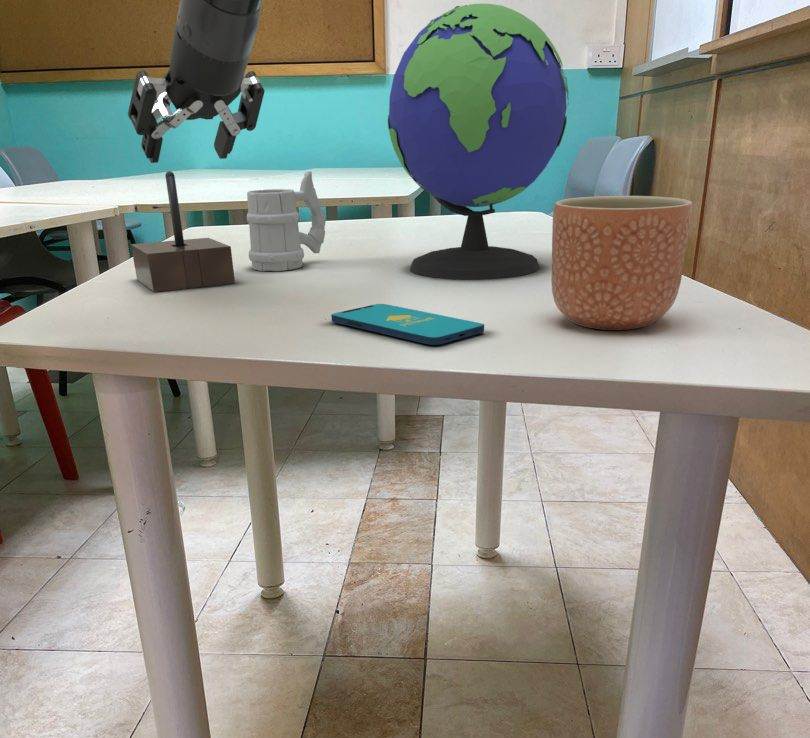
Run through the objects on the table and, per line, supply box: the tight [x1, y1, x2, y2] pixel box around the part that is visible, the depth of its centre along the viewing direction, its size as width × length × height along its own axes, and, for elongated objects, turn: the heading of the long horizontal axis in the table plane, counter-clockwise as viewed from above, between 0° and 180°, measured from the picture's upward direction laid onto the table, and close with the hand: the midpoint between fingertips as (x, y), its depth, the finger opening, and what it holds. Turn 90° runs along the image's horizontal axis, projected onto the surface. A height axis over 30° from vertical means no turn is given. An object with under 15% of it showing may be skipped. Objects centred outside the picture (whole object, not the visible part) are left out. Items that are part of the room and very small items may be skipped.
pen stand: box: [130, 237, 236, 293], centre depth 104 cm, size 10×10×4 cm
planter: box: [551, 195, 693, 331], centre depth 77 cm, size 12×12×11 cm
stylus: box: [164, 170, 185, 247], centre depth 102 cm, size 1×1×13 cm
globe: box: [387, 3, 570, 280], centre depth 102 cm, size 22×22×30 cm
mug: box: [246, 170, 327, 272], centre depth 112 cm, size 8×12×12 cm, turn 125°
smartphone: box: [330, 303, 485, 346], centre depth 79 cm, size 7×1×15 cm
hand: (185, 155), depth 94 cm, fingers open, 8 cm apart
